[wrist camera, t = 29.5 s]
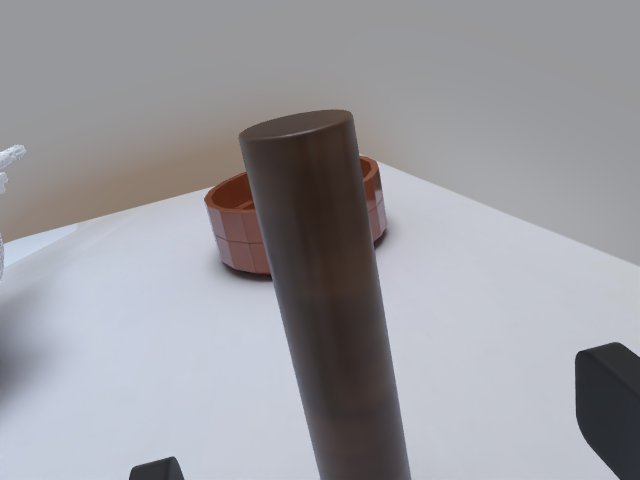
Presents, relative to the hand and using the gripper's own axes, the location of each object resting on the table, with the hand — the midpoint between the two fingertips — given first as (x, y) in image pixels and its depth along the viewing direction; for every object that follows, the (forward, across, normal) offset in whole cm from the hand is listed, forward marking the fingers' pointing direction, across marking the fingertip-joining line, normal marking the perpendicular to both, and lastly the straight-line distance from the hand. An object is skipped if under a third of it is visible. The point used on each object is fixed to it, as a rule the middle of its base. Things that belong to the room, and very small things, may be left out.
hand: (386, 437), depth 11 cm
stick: (+6, 0, +11) cm, 12 cm away
